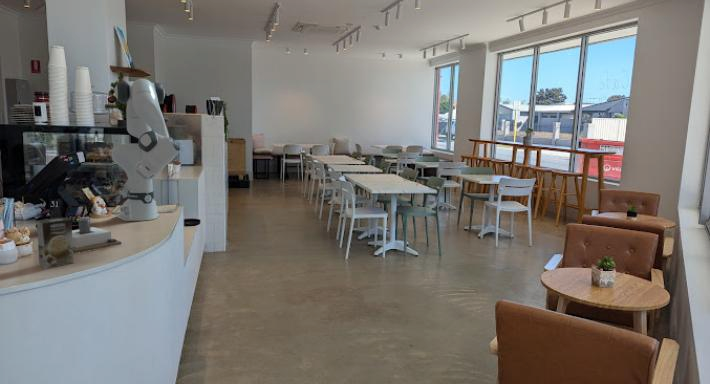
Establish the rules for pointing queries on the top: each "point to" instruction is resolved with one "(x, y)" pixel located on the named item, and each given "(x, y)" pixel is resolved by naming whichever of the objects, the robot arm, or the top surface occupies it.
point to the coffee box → (55, 242)
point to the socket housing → (90, 237)
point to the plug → (84, 225)
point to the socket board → (97, 246)
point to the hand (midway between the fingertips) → (123, 192)
